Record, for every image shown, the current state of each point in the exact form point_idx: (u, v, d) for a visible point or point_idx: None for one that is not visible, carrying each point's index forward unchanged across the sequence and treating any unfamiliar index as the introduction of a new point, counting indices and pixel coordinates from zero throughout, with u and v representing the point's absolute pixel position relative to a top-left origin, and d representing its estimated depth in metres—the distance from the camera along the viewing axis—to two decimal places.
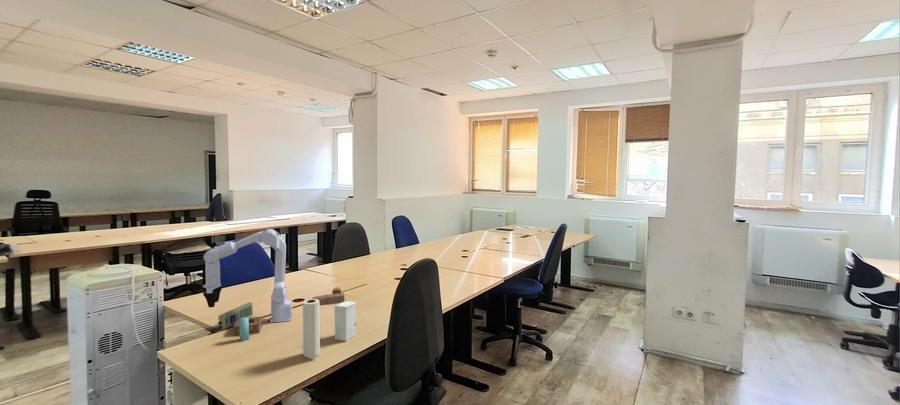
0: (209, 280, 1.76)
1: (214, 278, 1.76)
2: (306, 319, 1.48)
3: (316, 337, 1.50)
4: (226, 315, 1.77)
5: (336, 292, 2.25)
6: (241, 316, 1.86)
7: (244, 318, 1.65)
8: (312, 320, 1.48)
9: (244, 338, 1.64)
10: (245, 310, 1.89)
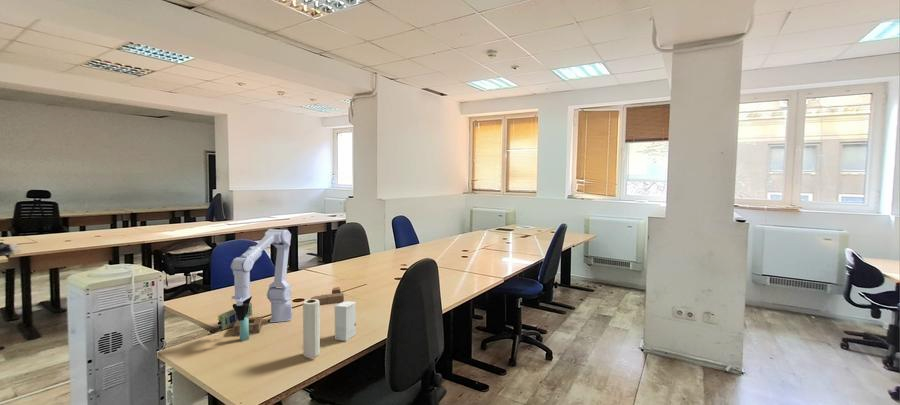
0: (239, 291, 1.62)
1: (244, 289, 1.62)
2: (306, 319, 1.48)
3: (316, 337, 1.50)
4: (226, 315, 1.77)
5: (336, 292, 2.25)
6: None
7: (244, 318, 1.65)
8: (312, 320, 1.48)
9: (244, 338, 1.64)
10: None
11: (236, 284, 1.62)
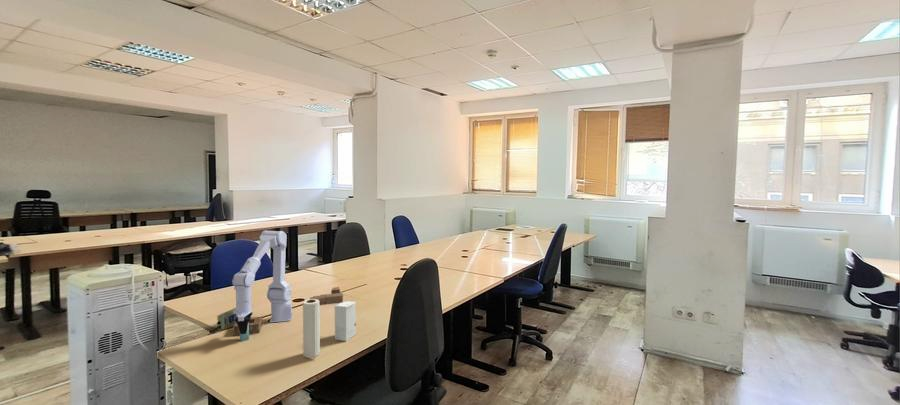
0: (240, 306, 1.62)
1: (245, 304, 1.62)
2: (306, 319, 1.48)
3: (316, 337, 1.50)
4: (225, 315, 1.77)
5: (335, 292, 2.25)
6: None
7: None
8: (312, 320, 1.48)
9: (244, 338, 1.64)
10: None
11: (238, 299, 1.62)
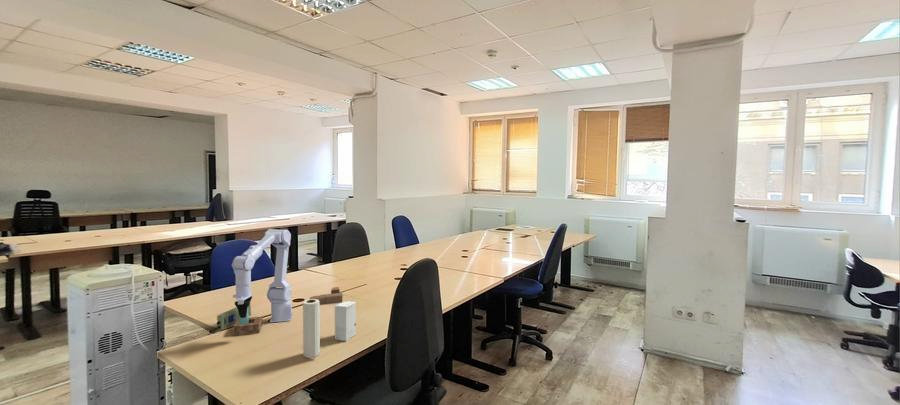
0: (240, 289, 1.61)
1: (245, 287, 1.62)
2: (306, 319, 1.48)
3: (316, 337, 1.50)
4: (225, 315, 1.77)
5: (335, 292, 2.25)
6: None
7: None
8: (312, 320, 1.48)
9: (244, 322, 1.64)
10: None
11: (237, 283, 1.61)
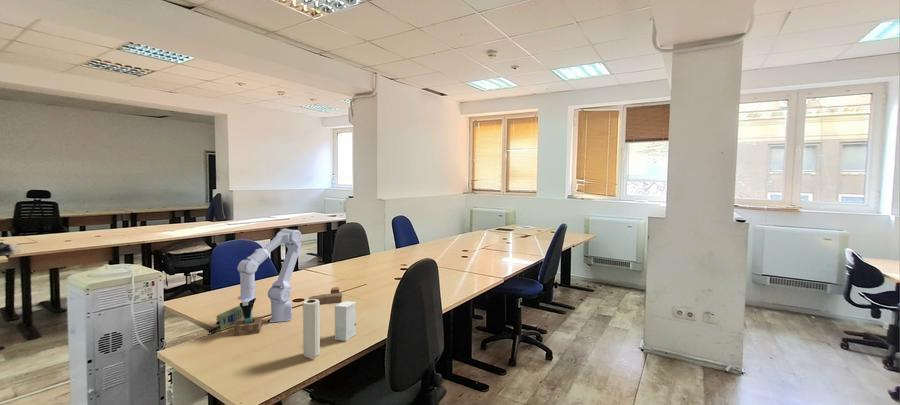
0: (244, 291, 1.71)
1: (249, 290, 1.72)
2: (306, 319, 1.48)
3: (316, 337, 1.50)
4: (224, 315, 1.78)
5: (334, 292, 2.25)
6: (239, 316, 1.87)
7: None
8: (312, 320, 1.48)
9: (248, 322, 1.74)
10: None
11: (241, 285, 1.72)
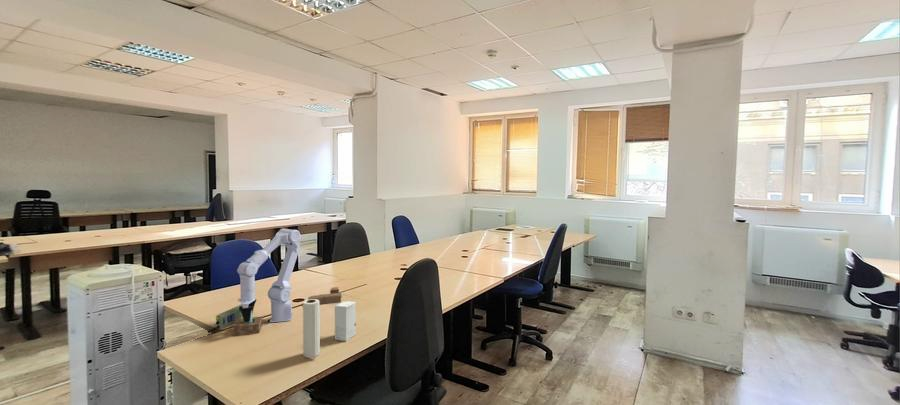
0: (244, 294, 1.71)
1: (249, 292, 1.72)
2: (306, 319, 1.48)
3: (316, 337, 1.50)
4: (223, 315, 1.78)
5: (334, 292, 2.26)
6: (238, 316, 1.87)
7: None
8: (312, 320, 1.48)
9: None
10: None
11: (241, 287, 1.72)
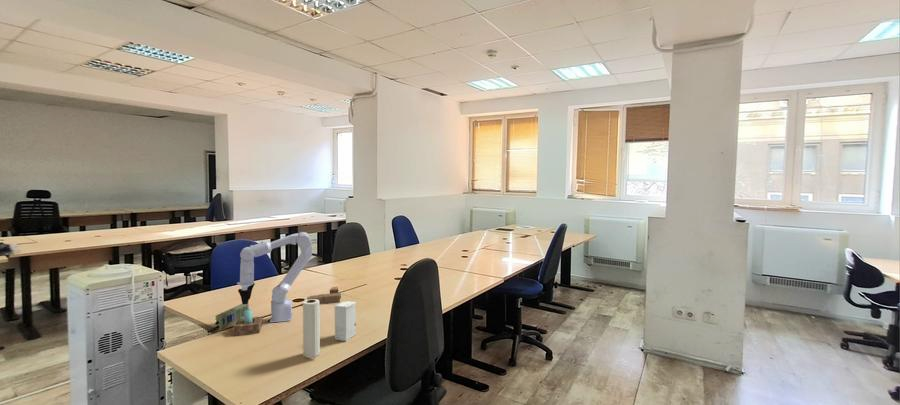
0: (244, 277, 1.80)
1: (249, 276, 1.80)
2: (306, 319, 1.48)
3: (316, 337, 1.50)
4: (223, 315, 1.78)
5: (333, 292, 2.26)
6: (238, 316, 1.87)
7: (248, 310, 1.75)
8: (312, 320, 1.48)
9: None
10: (241, 310, 1.89)
11: None
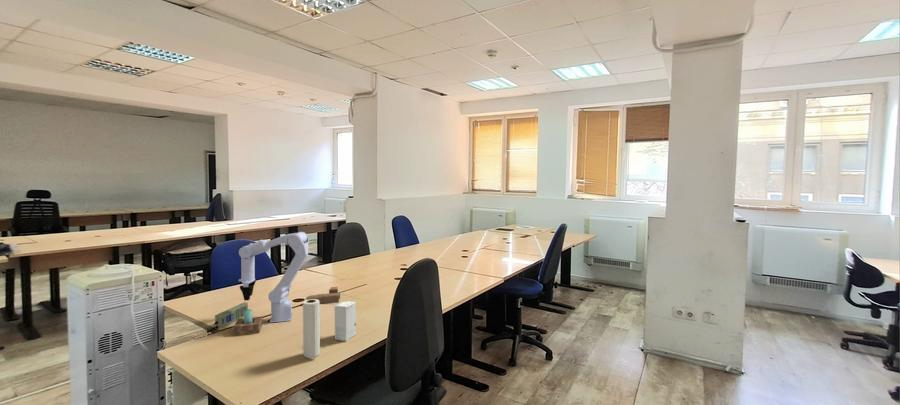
0: (245, 274, 1.85)
1: (249, 273, 1.86)
2: (306, 319, 1.48)
3: (316, 337, 1.50)
4: (222, 315, 1.78)
5: (333, 291, 2.26)
6: (237, 316, 1.87)
7: (248, 310, 1.75)
8: (312, 320, 1.48)
9: None
10: (241, 310, 1.89)
11: None
